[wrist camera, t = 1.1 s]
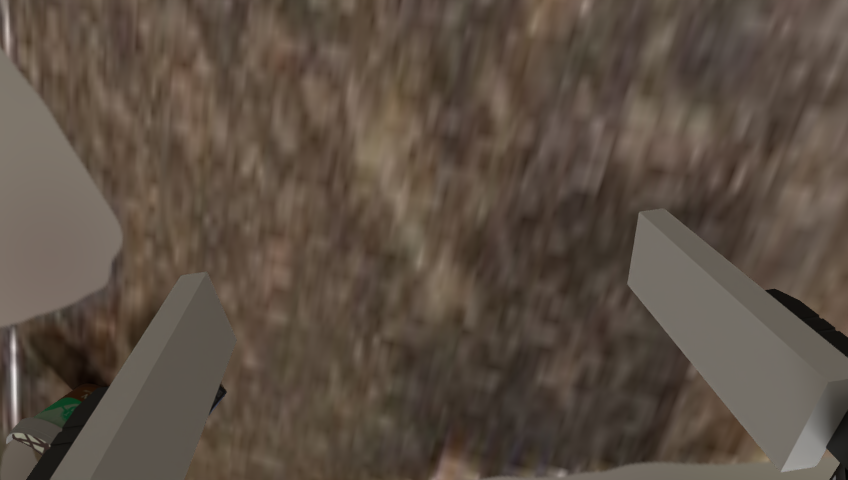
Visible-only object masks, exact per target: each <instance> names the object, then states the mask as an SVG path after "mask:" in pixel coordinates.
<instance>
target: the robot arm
mask: <svg viewBox="0 0 848 480" xmlns="http://www.w3.org/2000/svg"><path fill="white" fill-rule="evenodd" d="M628 286H629V287H630V288H631V289H632V290H633V292H634V293H635V294H636V295H637V297H638V298H639V299H640V300H641V302H642V303H643V304H644V305H645V306H646V308H647V309H648V310H649V311H650V313H651V314H652V315H653V316H654V317H655V319H656V320H657V321H658V322H659V324H660V325H661V326H662V327H663V329H664V330H665V331H666V332H667V333H668V335H669V336H670V337H671V338H672V340H673V341H674V342H675V343H676V345H677V346H678V347H679V348H680V349H681V351H682V352H683V353H684V354H685V356H686V357H687V358H688V359H689V360H690V362H691V363H692V364H693V365H694V367H695V368H696V369H697V370H698V372H699V373H700V374H701V375H702V376H703V378H704V379H705V380H706V381H707V383H708V384H709V385H710V386H711V388H712V389H713V390H714V391H715V392H716V394H717V395H718V396H719V397H720V399H721V400H722V401H723V402H724V403H725V405H726V406H727V407H728V408H729V410H730V411H731V412H732V413H733V415H734V416H735V417H736V418H737V419H738V421H739V422H740V423H741V424H742V426H743V427H744V428H745V429H746V431H747V432H748V433H749V434H750V435H751V437H752V438H753V439H754V440H755V442H756V443H757V444H758V445H759V446H760V448H761V449H762V450H763V451H764V453H765V454H766V455H767V456H768V458H769V459H770V460H771V461H772V462H773V464H774V465H775V466H776V467H777V469H778V470H779V471H780V472H785V471H792V470H798V469H805V468H811V467H816V466H817V464H818V462H819V461H820V459H821V457H822V455H823V454H824V452H825V450H826V449H828V450H829V451H830V452H831V453H832V455H833V456H834V457H835V458H836V459H837V460H838V461H839V462H840V464H839V466H838V467H837V469H836V471H835V472H834V474H833V475H832V477H831V478H830V480H848V337H847V336H845V335H844V334H843V333H841V332H840V331H836V330H835V327H834V326H832V325H831V324H830V323H828V322H827V321H826V320H824V319H820V318H819V315H818V314H817V313H815V312H814V311H813V310H811V309H810V308H809V307H808V306H806V305H805V304H804V303H802V302H801V301H800V300H798V299H795V298H793V297H791V296H789V295H787V294H785V293H783V292H781V291H779V290H776V289H770V290H764V289H762V288H761V287H760V286H759V285H757V284H756V283H755V282H754V281H753V280H751V279H750V278H749V277H748V276H746V275H745V274H744V273H743V272H741V271H740V270H739V269H738V268H737V267H735V266H734V265H733V264H732V263H730V262H729V261H728V260H727V259H725V258H724V257H723V256H722V255H720V254H719V253H718V252H717V251H716V250H714V249H713V248H712V247H711V246H709V245H708V244H707V243H706V242H704V241H703V240H702V239H701V238H700V237H698V236H697V235H696V234H695V233H693V232H692V231H691V230H690V229H688V228H687V227H686V226H685V225H684V224H682V223H681V222H680V221H679V220H677V219H676V218H675V217H674V216H672V215H671V214H670V213H669V212H668V211H666V210H665V209H657V210H649V211H642V212H639V217H638V223H637V229H636V235H635V241H634V247H633V253H632V259H631V265H630V272H629V278H628ZM236 341H237V339H236V337H235V335H234V333H233V330H232V328H231V326H230V323H229V321H228V319H227V317H226V314H225V312H224V310H223V307H222V305H221V303H220V301H219V298H218V296H217V294H216V291H215V289H214V287H213V284H212V282H211V280H210V278H209V275H208V273H207V272H202V273H195V274H188V275H181V276H180V278H179V279H178V281H177V283H176V284H175V286H174V287H173V289H172V290H171V292H170V293H169V295H168V297H167V298H166V300H165V301H164V303H163V304H162V306H161V307H160V309H159V311H158V312H157V314H156V315H155V317H154V318H153V320H152V321H151V323H150V325H149V326H148V328H147V329H146V331H145V332H144V334H143V335H142V337H141V339H140V340H139V342H138V343H137V345H136V346H135V348H134V349H133V351H132V353H131V354H130V356H129V357H128V359H127V360H126V362H125V363H124V365H123V367H122V368H121V370H120V371H119V373H118V374H117V376H116V377H115V379H114V381H113V382H112V384H111V385H110V386H108V387H101V388H97V389H96V390H94V391H93V392H92V393H91V394H90V395H89V396H88V397H87V398H86V399H85V400H83V401H82V402H81V403H80V404H79V405H78V406H77V407H76V408H75V409H74V411H73V412H72V414H71V415H70V417H69V418H68V420H67V421H66V423H65V424H64V425H63V427H62V432H59V433H58V434H57V436H56V437H55V438H54V440H53V441H52V443H51V444H50V449H48V450H46V452H45V453H44V454H43V456H42V457H41V459H40V460H39V462H38V463H37V465H36V466H35V468H34V469H33V470H32V472H31V473H30V475H29V476H28V478H27V479H26V480H184V479H185V476H186V473H187V471H188V468H189V465H190V463H191V460H192V457H193V455H194V452H195V449H196V447H197V444H198V441H199V439H200V436H201V434H202V431H203V428H204V426H205V423H206V420H207V418H208V415H209V412H210V410H211V407H212V404H213V402H214V399H215V396H216V394H217V391H218V388H219V386H220V383H221V381H222V378H223V375H224V373H225V370H226V367H227V365H228V362H229V359H230V357H231V354H232V351H233V349H234V346H235V343H236Z"/></svg>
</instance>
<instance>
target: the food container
mask: <svg viewBox="0 0 848 480" xmlns="http://www.w3.org/2000/svg"><path fill="white" fill-rule="evenodd" d="M97 388H101V386H99V385H95V384H91V383H86V384H82V385H80V386H78V387H77V388H76V389H74V390H73V391H71V392H70V393H68V394H67V395H65V396H64V397H63V398H61V399H60V400H58V401H57V402H55V403H54V404H52V405H51V406H50V407H48V408H47V409H45V410H44V411H42V412H41V413H39V414H38V415H36V416H35V417H34V418H26V419H23V420H21V421H20V422H19V423H18V424H17V425H16V426H15V427H14V429H13V430H12V431H11V432H10V435H9V436H8V437H7V439H6V444H7V443H9V442H10V441H11V440H13V439H15V440H17V441H19V442H22V443H24V444H26V445H28V446H30V447H32V448H33V449H34V450H36V451H37V452H38V453H39V454H41V455H42V456H43V454H44V453H45V452H46V450H48V449H50V444H51V443H52V441H53V440H54V438H55V437H56V436H57V434H58V433H59V432H62V427H63V425H64V424H65V423H66V421H67V420H68V418H69V417H70V415H71V414H72V412H73V411H74V409H75V408H76V407H77V406H78V405H79V404H80V403H81V402H82V401H83V400H85V399H86V398H87V397H88V396H89V395H90V394H91V393H92V392H93V391H94V390H96V389H97Z"/></svg>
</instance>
